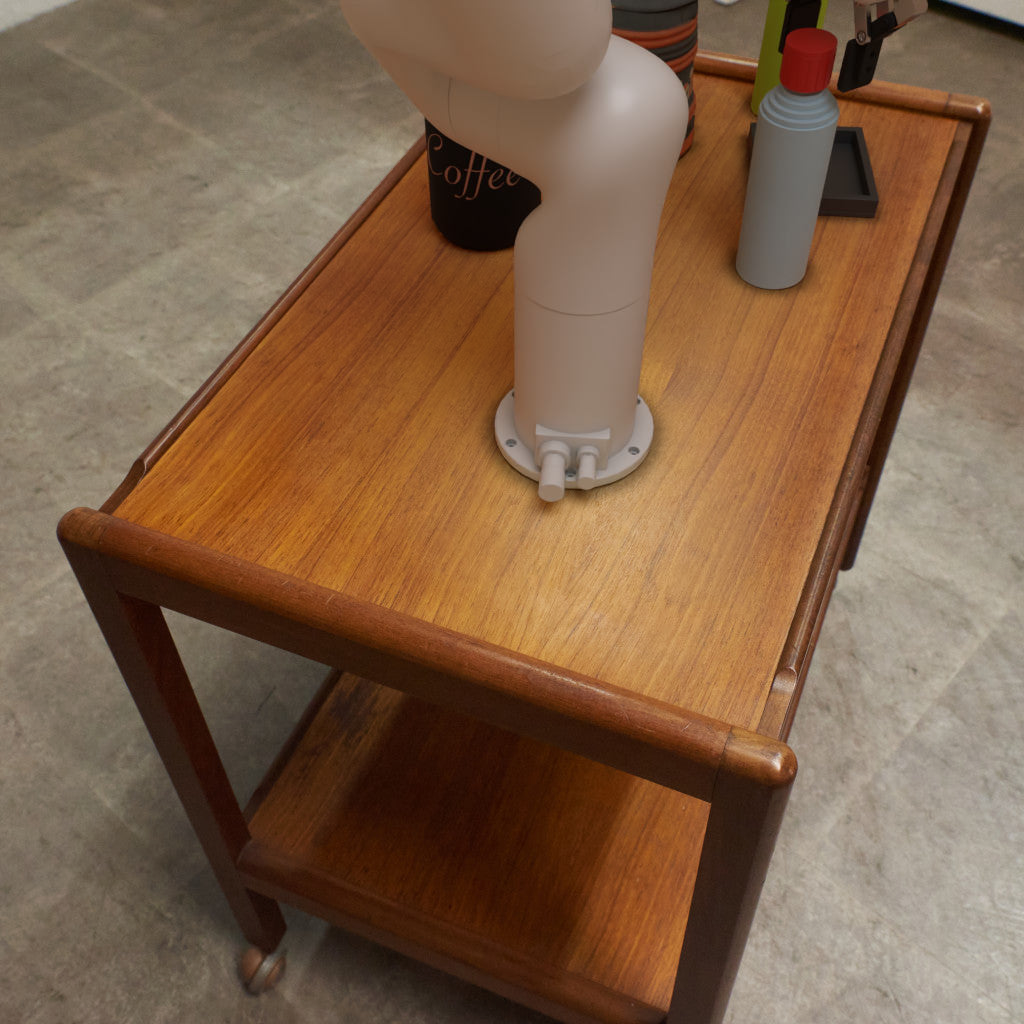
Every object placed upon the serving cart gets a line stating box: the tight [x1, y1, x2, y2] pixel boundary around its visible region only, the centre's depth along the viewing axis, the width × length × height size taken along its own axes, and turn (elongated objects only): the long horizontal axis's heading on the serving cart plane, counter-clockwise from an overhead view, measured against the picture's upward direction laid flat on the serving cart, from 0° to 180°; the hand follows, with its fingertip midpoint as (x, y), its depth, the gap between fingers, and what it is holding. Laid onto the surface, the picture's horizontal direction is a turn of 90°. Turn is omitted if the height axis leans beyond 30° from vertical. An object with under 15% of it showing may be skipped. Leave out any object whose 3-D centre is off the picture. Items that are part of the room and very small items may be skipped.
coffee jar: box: [423, 116, 542, 253], centre depth 97 cm, size 11×11×18 cm
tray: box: [747, 121, 880, 219], centre depth 108 cm, size 14×12×2 cm
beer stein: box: [611, 0, 699, 159], centre depth 107 cm, size 19×15×20 cm
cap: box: [779, 28, 839, 93], centre depth 83 cm, size 4×4×3 cm
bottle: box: [735, 83, 841, 290], centre depth 91 cm, size 6×6×21 cm
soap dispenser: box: [750, 0, 830, 117], centre depth 111 cm, size 6×7×20 cm
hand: (824, 66), depth 85 cm, fingers open, 6 cm apart
